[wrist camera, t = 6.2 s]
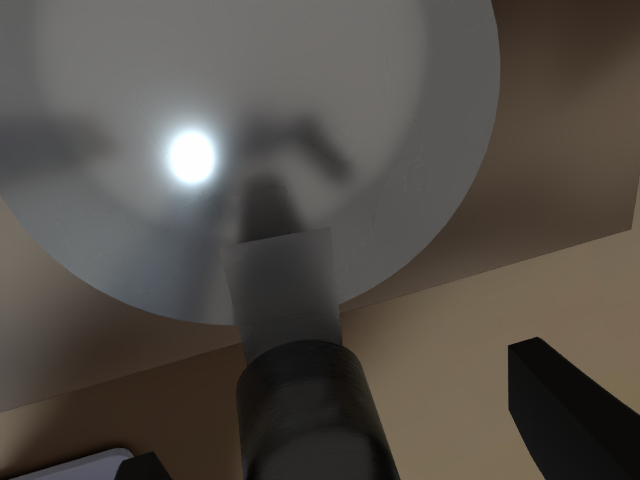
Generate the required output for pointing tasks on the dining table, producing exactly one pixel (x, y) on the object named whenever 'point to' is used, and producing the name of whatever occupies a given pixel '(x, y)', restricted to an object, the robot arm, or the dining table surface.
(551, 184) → the lock base
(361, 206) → the grey disc with handle
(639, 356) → the dining table surface
